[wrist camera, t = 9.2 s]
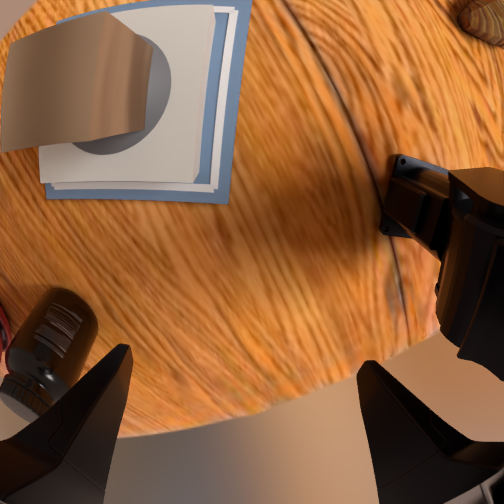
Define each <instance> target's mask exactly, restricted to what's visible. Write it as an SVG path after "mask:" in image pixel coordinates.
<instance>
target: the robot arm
mask: <svg viewBox="0 0 504 504" xmlns="http://www.w3.org/2000/svg"><path fill="white" fill-rule="evenodd" d="M401 159H403V162H402V163H401ZM383 210H384V211H383V215H382V218H381V222H380V226H379V231H380V232H381V233H382V234H383V235H389V236H397V237H405V238H413V239H414V240H416V241H417V242H418V243H419V244H420V245H422V246H423V247H424V248H425V249H426V250H427V251H429V252H430V253H431V254H432V255H433V256H434V257H435V258H437V259H438V260H439V261H440V262H441V267H440V272H439V277H438V282H437V283H436V286H435V294H436V296H437V301H436V315H437V318H438V321H439V324H440V325H441V326H440V331H441V332H442V334H443V335H444V336H445V337H446V338H447V339H448V340H449V341H450V342H452V343H453V344H454V345H455V346H457V347H459V348H460V349H459V351H458V353H457V357H458V358H460V359H464V360H470V361H473V362H475V363H478V364H480V365H482V366H484V367H485V368H487V369H488V370H489V371H491V372H492V373H493V374H494V375H496V376H497V377H498V378H499V379H500V380H501V381H504V171H501V170H498V169H495V168H491V167H484V168H471V169H460V170H450V171H449V170H447V169H444V168H441V167H439V166H436V165H433V164H430V163H427V162H424V161H421V160H418V159H415V158H412V157H409V156H405V155H402V154H399V155H397V156H396V159H395V163H394V168H393V173H392V178H391V180H390V183H389V188H388V192H387V196H386V200H385V204H384V208H383ZM386 226H387V228H386V229H385V230H384V228H385V227H386ZM132 367H133V357H132V352H131V347H130V346H129V345H127V344H122V343H120V344H118V345H117V346H116V347H114V348H113V349H112V350H111V351H110V352H109V353H108V354H107V355H106V356H105V357H104V358H102V359H101V360H100V361H99V362H98V363H97V364H96V365H95V366H94V367H93V368H92V369H91V370H90V371H88V372H87V373H86V374H85V375H84V376H83V377H82V378H81V379H80V380H79V381H78V382H77V383H76V384H75V385H73V386H72V387H71V388H70V389H69V390H68V391H67V392H66V393H65V394H64V395H63V396H62V397H61V398H60V400H58V401H56V402H55V403H54V404H53V405H52V406H51V407H50V408H49V409H48V410H47V411H46V412H45V413H43V414H42V415H41V416H40V417H38V418H37V419H36V420H34V421H33V422H32V423H30V424H29V425H28V426H26V427H25V428H24V429H22V430H21V431H20V432H18V433H17V434H16V435H14V436H12V437H11V438H9V439H6V440H3V441H0V504H103V501H104V495H105V489H106V484H107V479H108V474H109V470H110V465H111V460H112V456H113V452H114V448H115V443H116V439H117V435H118V432H119V428H120V424H121V420H122V416H123V413H124V409H125V406H126V402H127V397H128V391H129V385H130V379H131V373H132ZM357 385H358V393H359V400H360V407H361V412H362V417H363V421H364V425H365V430H366V434H367V439H368V444H369V448H370V453H371V458H372V463H373V469H374V474H375V479H376V485H377V491H378V498H379V504H504V442H480V441H473V440H470V439H468V438H467V437H465V436H464V435H463V434H461V433H460V432H458V431H457V430H456V429H454V428H453V427H451V426H450V425H448V424H447V423H446V422H445V421H443V420H442V419H441V418H440V417H439V416H438V415H436V414H435V413H434V412H433V411H432V410H430V408H428V407H427V406H426V405H425V404H424V403H423V402H422V401H421V400H419V399H418V398H417V397H416V396H415V395H413V393H411V392H410V391H409V390H408V389H407V388H406V387H405V386H404V385H402V384H401V383H400V382H399V381H398V380H397V379H396V378H394V377H393V376H392V375H391V374H390V373H389V372H388V371H387V370H385V369H384V368H383V367H382V366H381V365H380V364H379V363H377V362H376V361H375V360H367V361H365V362H364V363H363V365H362V366H361V368H360V369H359V371H358V373H357Z"/></svg>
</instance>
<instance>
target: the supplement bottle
mask: <svg viewBox="0 0 504 504" xmlns="http://www.w3.org/2000/svg"><path fill="white" fill-rule="evenodd" d="M97 333H98V322H97V319H96V316H95V314H94V312H93V311H92V309H91V308H90V306H89V305H88V304H87V303H86V302H85V301H84V300H83V299H82V298H80V297H79V296H78V295H76V294H74V293H73V292H70V291H68V290H65V289H58V288H57V289H51V290H49V291H47V292H46V293H45V294H44V295H43V296H42V298H41V299H40V300H39V302H38V303H37V304H36V306H35V307H34V309H33V310H32V311H31V313H30V314H29V316H28V317H27V318H26V320H25V321H24V323H23V324H22V326H21V327H20V329H19V330H18V332H17V333H16V335H15V337H14V338H13V340H12V341H11V343H10V345H9V346H8V348H7V350H6V353H5V363H6V367H7V370H8V372H9V374H6V375H5V376H4V378H3V382H2V384H1V386H0V398H1V400H2V401H3V402H4V404H5V405H6V406H7V407H9V408H10V409H11V410H12V411H13V412H14V413H16V414H17V415H18V416H20V417H21V418H23V419H24V420H26V421H28V422H29V423H32V422H33V421H34V420H36V419H37V418H38V417H40V416H41V415H42V414H43V413H45V412H46V411H47V410H48V409H49V408H50V407H51V406H52V405H53V404H54V403H55V402H56V401H58V400H60V398H61V397H62V396H63V395H64V394H65V393H66V392H67V391H68V390H69V389H70V388H71V387H72V386H73V385H75V384H76V383H77V382H78V380H79V377H80V375H81V372H82V370H83V367H84V365H85V362H86V360H87V357H88V355H89V353H90V350H91V348H92V346H93V343H94V341H95V339H96V336H97Z"/></svg>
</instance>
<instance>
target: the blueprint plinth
mask: <svg viewBox="0 0 504 504" xmlns="http://www.w3.org/2000/svg"><path fill="white" fill-rule="evenodd" d="M251 6H252V0H150V1H142V2H135V3H129V4H123V5H118V6H112V7H108V8H103V9H99V10H95V11H91V12H87V13H83V14H80V15H76V16H73V17H70V18H67V19H63V20H60V21H58V22H57V23H56V25H57V24H60V23H63V22H66V21H69V20H73V19H76V18H80V17H83V16H87V15H91V14H95V13H99V12H104V11H107V12H109V13H110V14H111V15H113V16H114V17H115V18H117V19H118V20H119V21H121V22H122V23H123V24H125V25H126V26H127V27H128V28H130V29H131V30H132V31H133V32H135V33H136V34H137V35H138V36H140V37H141V38H142V39H143V40H145V41H146V42H147V43H148V44H149V45H151V46H152V47H153V54H152V61H151V68H150V76H149V84H148V93H147V104H146V116H145V130H139V131H134V132H128V133H123V134H118V135H113V136H109V137H104V138H100V139H96V140H92V141H82V142H71V143H62V144H53V145H45V146H39V170H40V183H45V189H46V199H124V200H156V201H179V202H197V203H213V204H228V203H229V192H230V181H231V170H232V160H233V150H234V140H235V131H236V122H237V113H238V104H239V95H240V87H241V79H242V71H243V63H244V55H245V48H246V41H247V34H248V26H249V20H250V13H251Z"/></svg>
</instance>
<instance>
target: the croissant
mask: <svg viewBox="0 0 504 504" xmlns="http://www.w3.org/2000/svg"><path fill="white" fill-rule="evenodd" d="M457 18H458V22H459V24H460V26H461V27H462V29H464V30H465V31H467V32H468V33H470V34H472V35H474V36H476V37H478V38H480V39H482V40H484V41H486V42H488V43H490V44H492V45H493V44H496V45H497V46H499V47H501V48H502V49H504V1H503V0H477V1H476V0H472V1H471V3H470V4H469V5H468V6H467V7H466V8H465V9H464V10H463V11H462V12H461V13H460V14H459V15H458V16H457Z"/></svg>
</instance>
